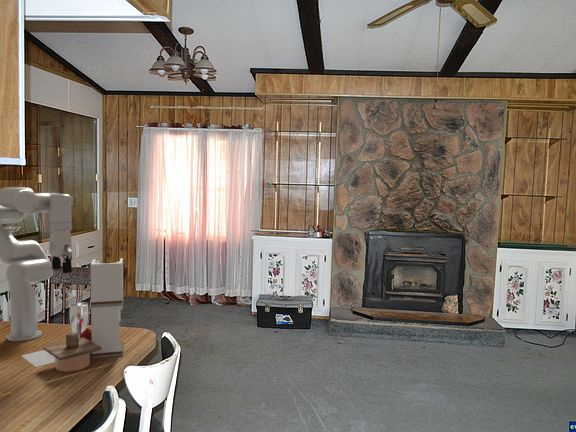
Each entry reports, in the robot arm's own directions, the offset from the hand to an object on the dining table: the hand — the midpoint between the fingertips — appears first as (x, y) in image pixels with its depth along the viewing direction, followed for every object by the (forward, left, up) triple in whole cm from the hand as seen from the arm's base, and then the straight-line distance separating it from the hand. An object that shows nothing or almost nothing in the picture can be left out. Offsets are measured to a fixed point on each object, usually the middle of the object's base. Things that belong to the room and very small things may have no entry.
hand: (61, 270), depth 180 cm
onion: (+6, +7, -31) cm, 32 cm away
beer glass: (-4, +8, -31) cm, 32 cm away
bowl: (+21, -5, -30) cm, 37 cm away
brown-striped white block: (+17, +10, -31) cm, 36 cm away
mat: (+6, -7, -30) cm, 32 cm away
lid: (+21, -5, -24) cm, 32 cm away
